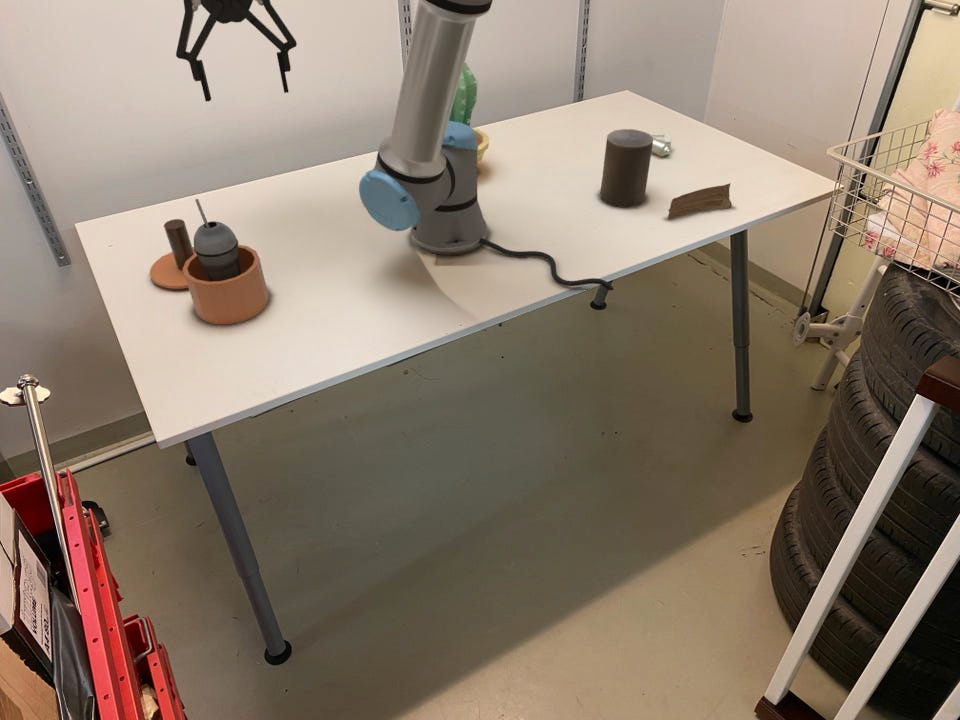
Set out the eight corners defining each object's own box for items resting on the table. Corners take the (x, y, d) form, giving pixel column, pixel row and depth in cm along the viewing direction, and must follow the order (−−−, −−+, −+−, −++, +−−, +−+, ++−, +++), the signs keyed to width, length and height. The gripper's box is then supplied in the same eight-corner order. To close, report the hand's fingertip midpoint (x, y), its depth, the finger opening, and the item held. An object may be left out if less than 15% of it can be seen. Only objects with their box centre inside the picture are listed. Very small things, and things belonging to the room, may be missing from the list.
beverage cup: (241, 314, 127) (213, 213, 114) (203, 310, 128) (171, 208, 115) (259, 291, 132) (234, 191, 119) (222, 287, 133) (193, 187, 120)
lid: (239, 258, 142) (227, 211, 135) (199, 296, 132) (183, 248, 125) (180, 247, 145) (165, 201, 138) (136, 284, 135) (118, 236, 128)
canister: (281, 289, 133) (272, 250, 128) (244, 330, 124) (232, 289, 119) (221, 278, 136) (210, 239, 131) (181, 317, 127) (167, 276, 122)
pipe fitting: (671, 159, 175) (666, 146, 179) (674, 145, 172) (669, 131, 177) (638, 159, 175) (634, 146, 179) (640, 145, 172) (636, 131, 177)
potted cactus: (496, 161, 174) (496, 53, 158) (481, 190, 162) (481, 77, 146) (434, 155, 177) (428, 48, 160) (416, 183, 165) (408, 72, 149)
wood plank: (671, 222, 151) (675, 200, 148) (665, 217, 152) (669, 196, 149) (731, 207, 156) (736, 186, 152) (724, 203, 157) (729, 182, 154)
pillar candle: (625, 212, 154) (634, 145, 145) (590, 196, 160) (597, 130, 150) (653, 197, 159) (664, 132, 149) (619, 182, 165) (627, 118, 155)
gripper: (135, -34, 114) (172, 107, 124) (295, -46, 118) (318, 90, 128) (142, -33, 120) (177, 100, 130) (294, -45, 124) (317, 85, 135)
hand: (247, 96), depth 129 cm, fingers open, 13 cm apart
